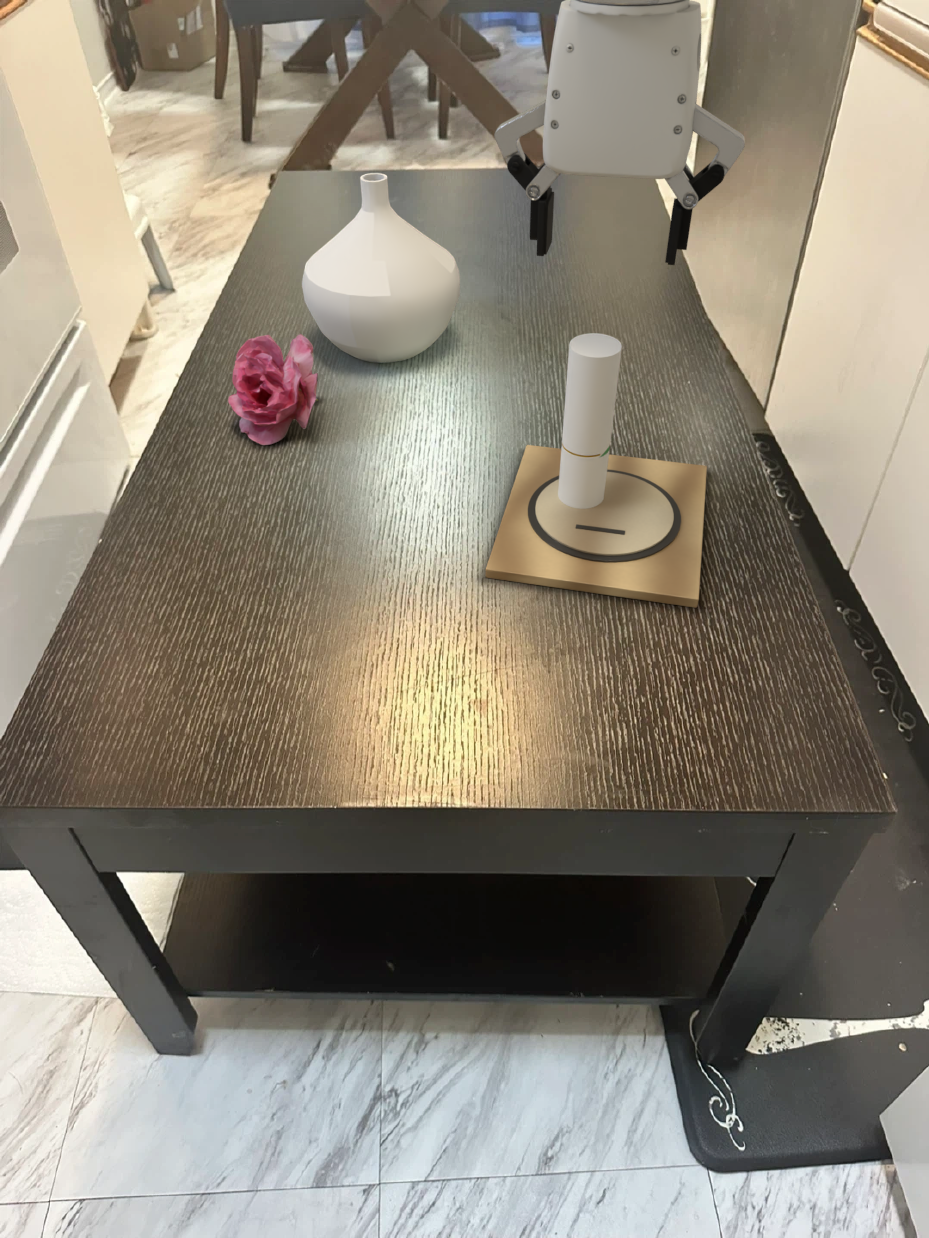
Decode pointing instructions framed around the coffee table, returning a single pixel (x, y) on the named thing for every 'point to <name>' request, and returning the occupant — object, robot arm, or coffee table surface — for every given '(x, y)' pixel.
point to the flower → (273, 387)
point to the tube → (588, 418)
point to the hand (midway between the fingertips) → (606, 254)
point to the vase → (381, 283)
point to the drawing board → (606, 530)
